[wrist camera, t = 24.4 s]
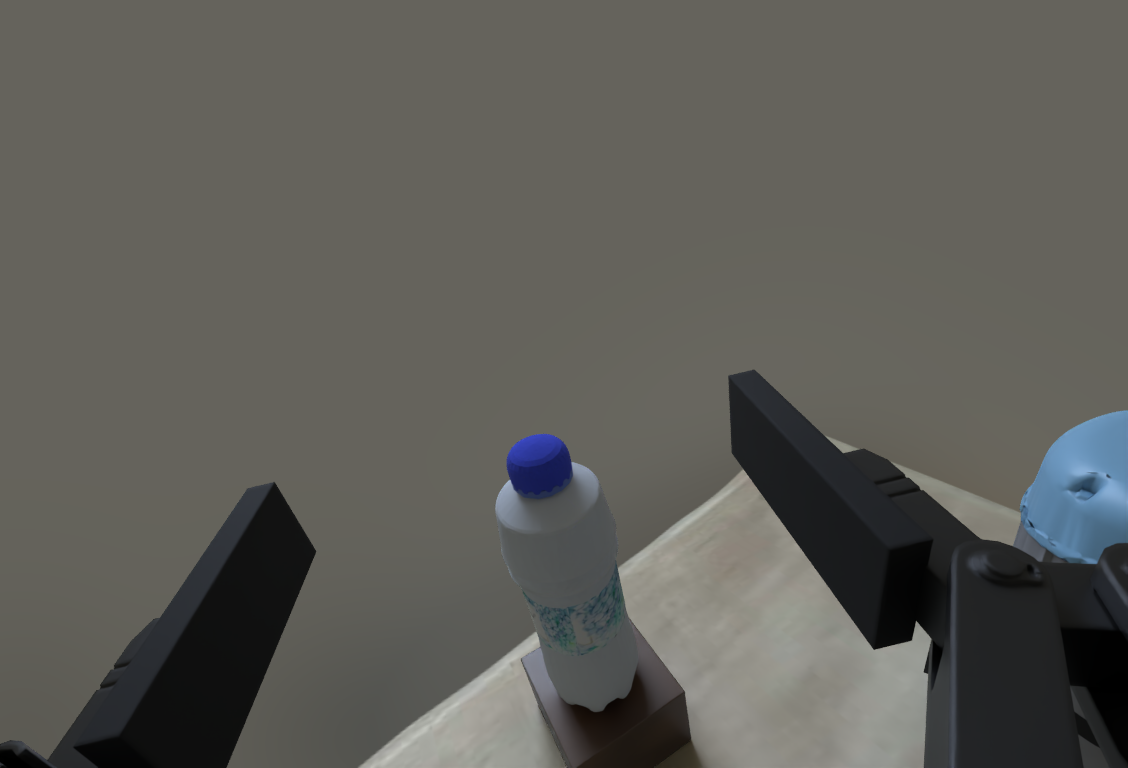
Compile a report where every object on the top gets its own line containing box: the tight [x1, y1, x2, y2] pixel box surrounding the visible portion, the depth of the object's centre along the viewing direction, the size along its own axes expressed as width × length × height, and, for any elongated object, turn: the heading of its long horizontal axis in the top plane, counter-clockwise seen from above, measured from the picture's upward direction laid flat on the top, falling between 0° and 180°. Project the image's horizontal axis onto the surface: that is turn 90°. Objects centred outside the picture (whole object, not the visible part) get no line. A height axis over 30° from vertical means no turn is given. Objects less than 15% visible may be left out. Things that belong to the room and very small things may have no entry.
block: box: [521, 619, 691, 768], centre depth 37 cm, size 8×8×6 cm
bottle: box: [495, 434, 638, 712], centre depth 31 cm, size 7×7×20 cm
